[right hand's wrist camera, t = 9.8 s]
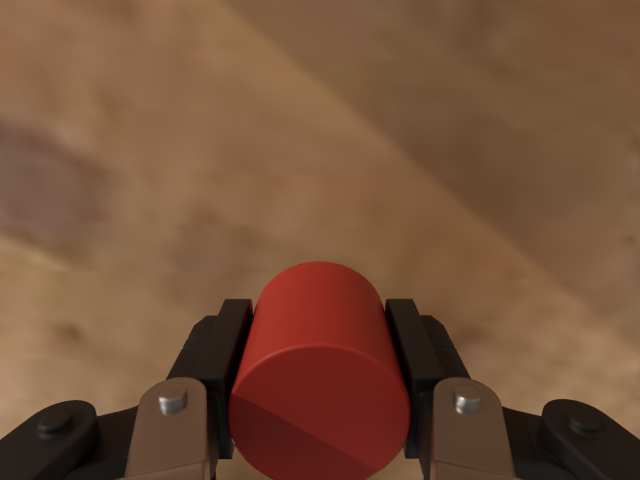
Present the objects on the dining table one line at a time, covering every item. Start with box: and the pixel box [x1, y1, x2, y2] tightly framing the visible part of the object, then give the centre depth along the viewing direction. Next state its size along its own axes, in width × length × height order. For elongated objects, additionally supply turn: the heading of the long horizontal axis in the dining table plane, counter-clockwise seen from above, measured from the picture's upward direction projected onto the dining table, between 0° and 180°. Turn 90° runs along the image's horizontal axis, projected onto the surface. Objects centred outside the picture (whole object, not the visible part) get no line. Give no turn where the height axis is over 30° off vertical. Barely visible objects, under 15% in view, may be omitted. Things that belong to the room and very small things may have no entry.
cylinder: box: [227, 262, 412, 480], centre depth 11 cm, size 4×4×4 cm
